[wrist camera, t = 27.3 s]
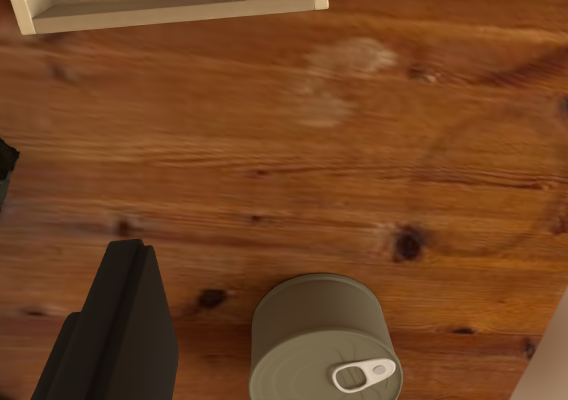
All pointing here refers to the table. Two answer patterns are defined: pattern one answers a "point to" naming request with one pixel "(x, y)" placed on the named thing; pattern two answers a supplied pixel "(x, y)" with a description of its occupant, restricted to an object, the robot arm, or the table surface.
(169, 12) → the cream open box
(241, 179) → the table surface
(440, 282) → the table surface
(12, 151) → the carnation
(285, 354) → the can
